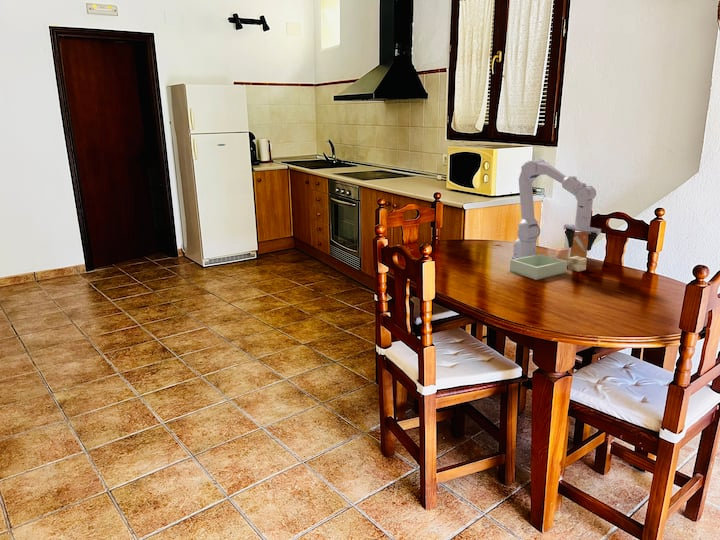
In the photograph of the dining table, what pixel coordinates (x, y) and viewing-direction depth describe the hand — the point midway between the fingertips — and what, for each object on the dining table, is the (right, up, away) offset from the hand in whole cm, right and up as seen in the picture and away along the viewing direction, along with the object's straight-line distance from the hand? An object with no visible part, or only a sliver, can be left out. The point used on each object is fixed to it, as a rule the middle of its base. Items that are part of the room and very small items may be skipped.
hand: (579, 248), depth 224 cm
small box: (+6, -4, +22) cm, 23 cm away
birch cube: (+1, -9, +5) cm, 10 cm away
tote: (-17, -10, +1) cm, 20 cm away
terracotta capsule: (-4, -7, +11) cm, 13 cm away
